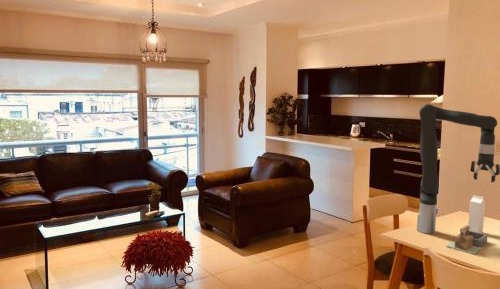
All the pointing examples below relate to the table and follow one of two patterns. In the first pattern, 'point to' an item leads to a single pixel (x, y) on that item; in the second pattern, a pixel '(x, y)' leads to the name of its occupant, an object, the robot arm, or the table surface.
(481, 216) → the milk
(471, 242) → the caddy
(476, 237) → the holder
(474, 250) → the mat
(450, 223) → the table surface
